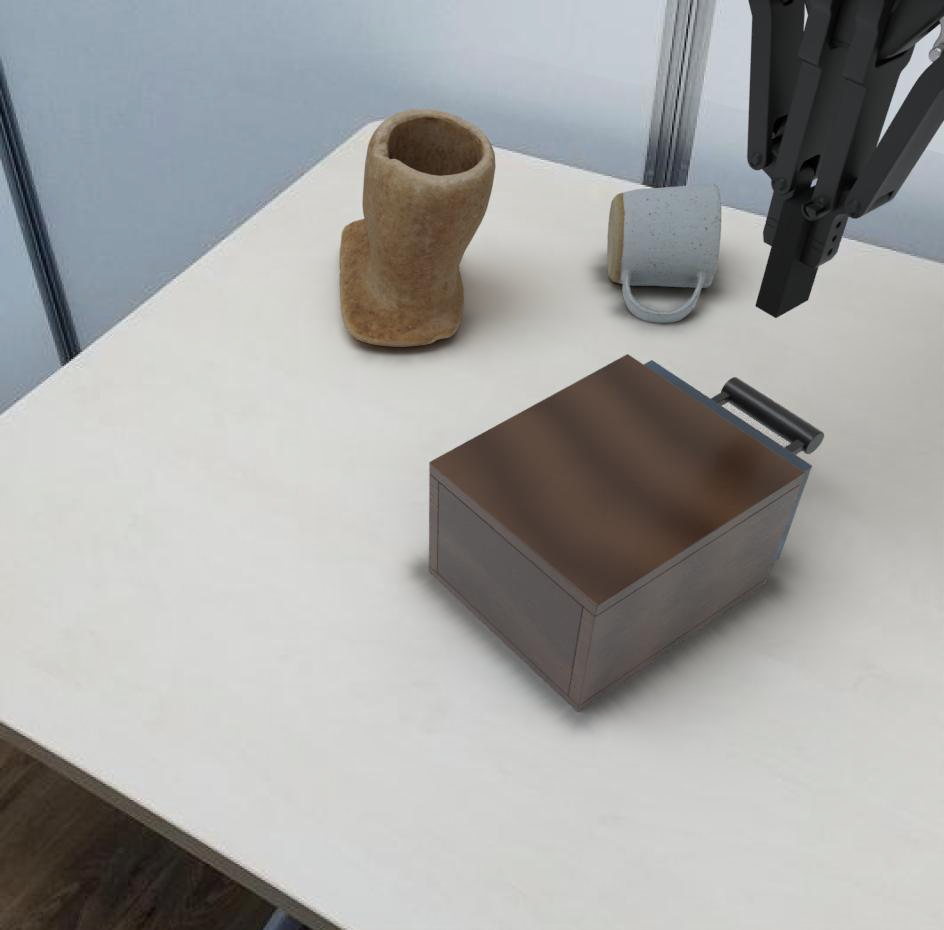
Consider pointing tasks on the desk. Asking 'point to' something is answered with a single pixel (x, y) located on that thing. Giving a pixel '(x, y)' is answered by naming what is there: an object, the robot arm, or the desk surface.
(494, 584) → the cabinet
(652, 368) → the drawer
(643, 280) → the ceramic mug
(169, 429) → the desk surface
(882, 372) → the desk surface
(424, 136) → the stone cup
